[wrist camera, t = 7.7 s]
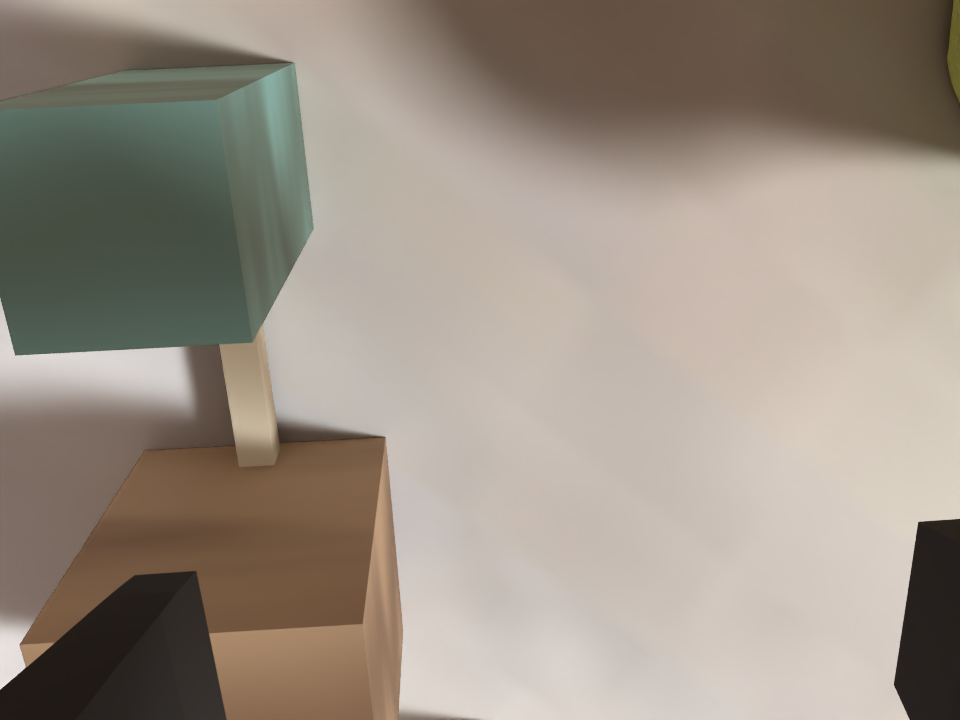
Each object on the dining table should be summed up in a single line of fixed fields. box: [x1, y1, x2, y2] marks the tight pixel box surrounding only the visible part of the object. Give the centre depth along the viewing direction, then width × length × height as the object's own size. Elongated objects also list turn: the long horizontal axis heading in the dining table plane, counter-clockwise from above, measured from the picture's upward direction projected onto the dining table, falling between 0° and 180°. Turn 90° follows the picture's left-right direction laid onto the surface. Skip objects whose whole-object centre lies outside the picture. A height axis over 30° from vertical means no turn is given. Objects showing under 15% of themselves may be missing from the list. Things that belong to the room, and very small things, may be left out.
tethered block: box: [0, 63, 403, 720], centre depth 15 cm, size 12×5×6 cm, turn 2°
